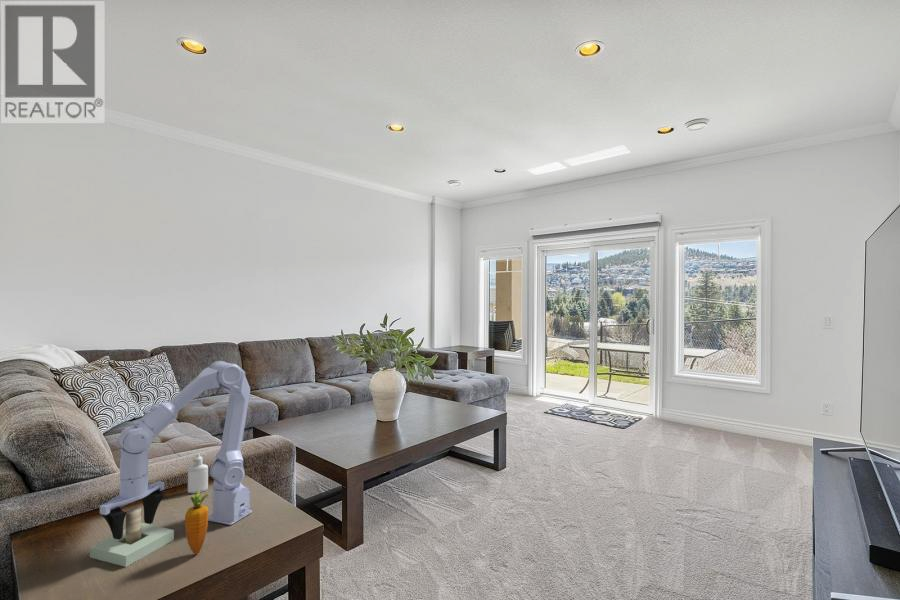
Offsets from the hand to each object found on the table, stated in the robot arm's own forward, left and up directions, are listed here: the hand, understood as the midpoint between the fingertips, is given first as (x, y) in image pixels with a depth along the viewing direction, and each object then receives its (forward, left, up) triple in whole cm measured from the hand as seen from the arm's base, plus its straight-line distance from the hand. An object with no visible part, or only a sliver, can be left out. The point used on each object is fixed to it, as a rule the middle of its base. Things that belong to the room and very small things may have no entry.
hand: (133, 530), depth 106 cm
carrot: (-17, -3, -5) cm, 18 cm away
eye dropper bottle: (+13, -30, -5) cm, 33 cm away
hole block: (0, 0, -4) cm, 4 cm away
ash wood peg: (0, 0, -4) cm, 5 cm away
